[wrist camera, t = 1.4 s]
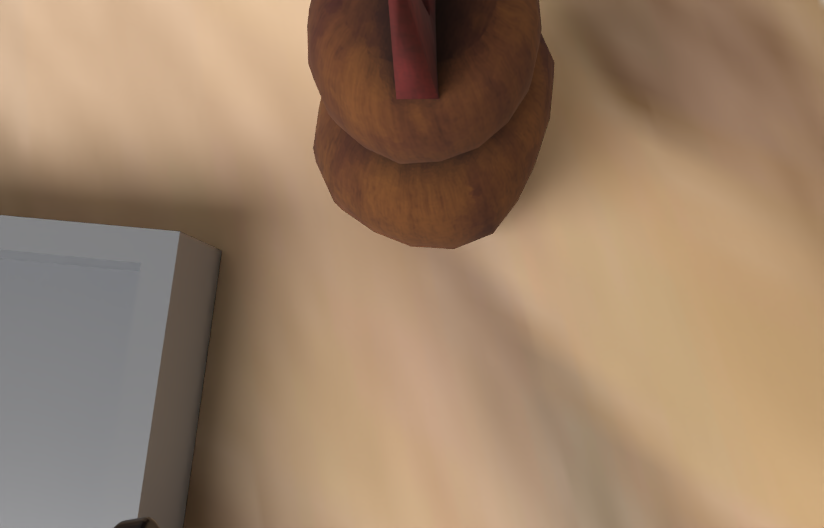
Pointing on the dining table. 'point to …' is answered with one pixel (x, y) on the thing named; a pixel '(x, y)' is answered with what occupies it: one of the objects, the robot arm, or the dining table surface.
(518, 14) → the wooden figurine
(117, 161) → the dining table surface
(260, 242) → the dining table surface
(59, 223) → the box
